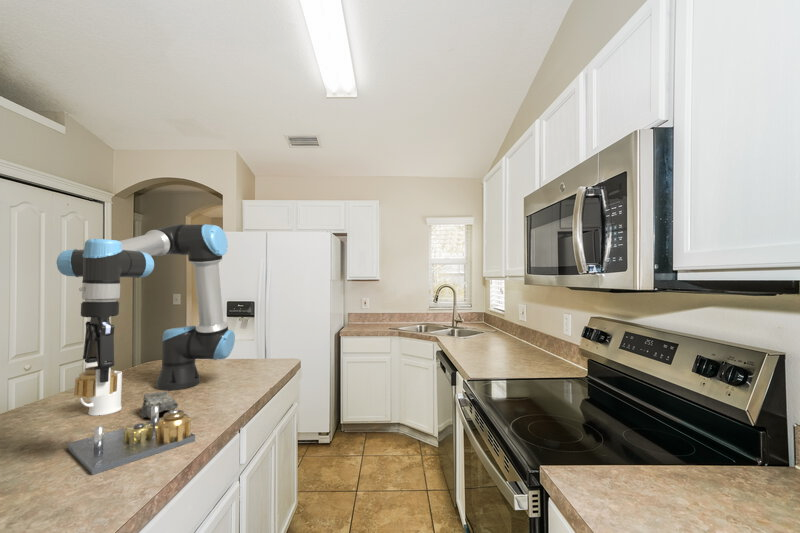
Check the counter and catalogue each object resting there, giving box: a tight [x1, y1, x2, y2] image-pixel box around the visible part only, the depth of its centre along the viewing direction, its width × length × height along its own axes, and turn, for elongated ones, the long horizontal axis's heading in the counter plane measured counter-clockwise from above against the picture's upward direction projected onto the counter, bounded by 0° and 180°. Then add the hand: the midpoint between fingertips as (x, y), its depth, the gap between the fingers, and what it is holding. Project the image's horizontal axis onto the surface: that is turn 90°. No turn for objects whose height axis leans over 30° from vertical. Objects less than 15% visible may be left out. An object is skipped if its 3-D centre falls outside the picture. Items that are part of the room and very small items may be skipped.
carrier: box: [67, 405, 196, 476], centre depth 98 cm, size 22×21×8 cm
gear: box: [73, 366, 118, 399], centre depth 94 cm, size 8×8×6 cm
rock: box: [140, 390, 179, 419], centre depth 120 cm, size 13×9×6 cm, turn 59°
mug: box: [79, 370, 123, 417], centre depth 121 cm, size 12×8×12 cm
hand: (96, 391), depth 94 cm, fingers closed on gear, 8 cm apart
